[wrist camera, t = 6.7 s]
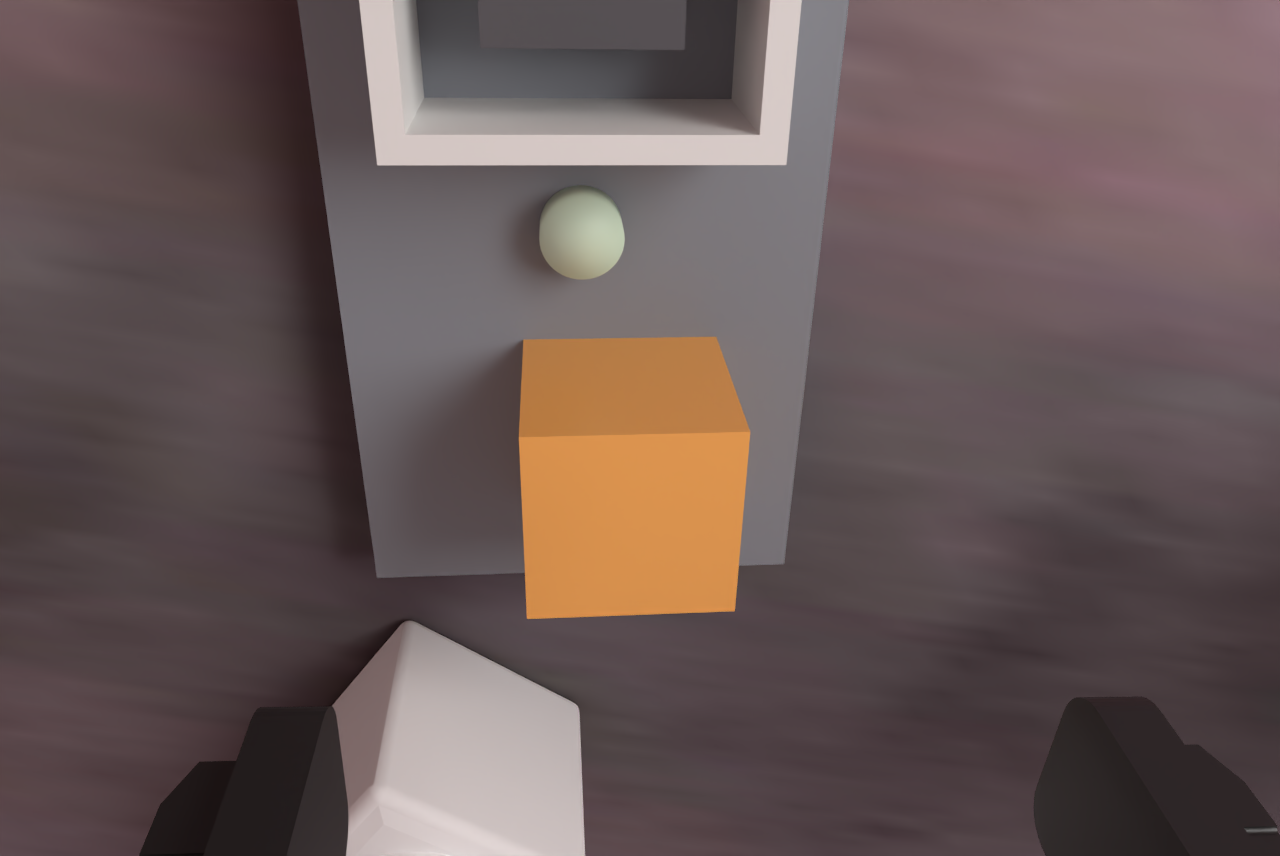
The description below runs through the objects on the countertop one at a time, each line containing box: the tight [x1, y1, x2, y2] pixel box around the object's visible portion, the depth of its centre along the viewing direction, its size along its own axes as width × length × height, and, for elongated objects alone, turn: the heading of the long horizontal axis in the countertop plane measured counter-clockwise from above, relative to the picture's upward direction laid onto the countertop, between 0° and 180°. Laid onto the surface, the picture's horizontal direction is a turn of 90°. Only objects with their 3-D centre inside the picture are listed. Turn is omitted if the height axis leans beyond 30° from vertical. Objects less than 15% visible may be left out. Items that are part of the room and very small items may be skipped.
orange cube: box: [519, 337, 750, 619], centre depth 25 cm, size 5×5×5 cm
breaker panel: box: [297, 0, 849, 578], centre depth 23 cm, size 12×24×6 cm, turn 179°
